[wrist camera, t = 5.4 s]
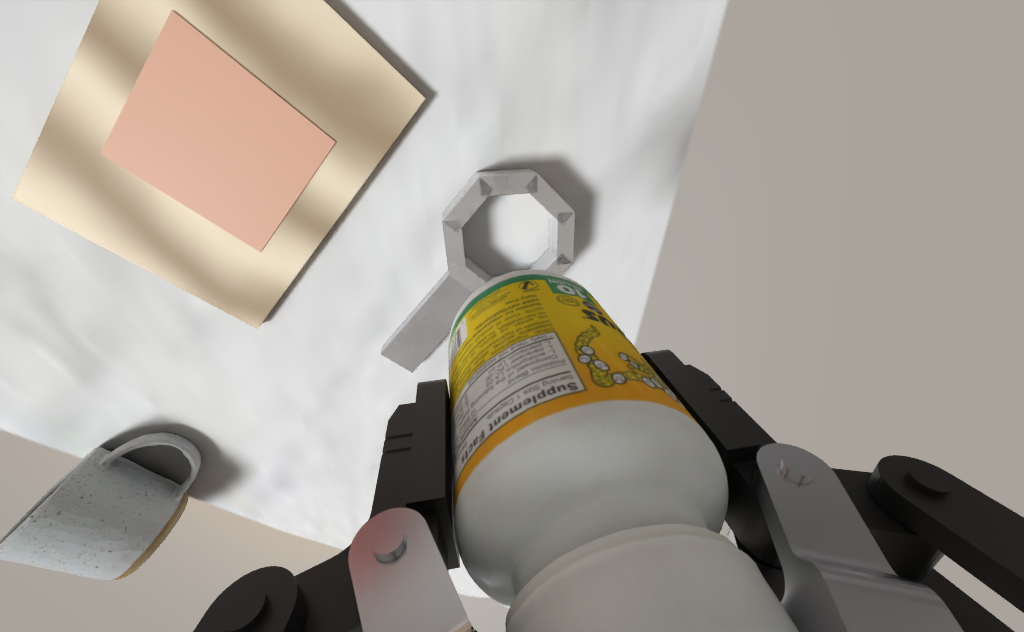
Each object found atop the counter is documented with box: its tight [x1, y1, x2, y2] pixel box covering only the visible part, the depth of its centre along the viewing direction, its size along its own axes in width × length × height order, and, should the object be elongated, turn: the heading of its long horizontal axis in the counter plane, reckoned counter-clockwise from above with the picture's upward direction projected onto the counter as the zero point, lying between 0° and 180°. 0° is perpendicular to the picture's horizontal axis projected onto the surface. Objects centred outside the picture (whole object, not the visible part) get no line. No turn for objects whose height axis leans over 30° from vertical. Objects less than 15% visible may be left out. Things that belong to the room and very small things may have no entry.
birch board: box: [12, 0, 426, 329], centre depth 22 cm, size 20×14×1 cm
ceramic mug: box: [0, 433, 201, 580], centre depth 29 cm, size 11×8×8 cm
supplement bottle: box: [449, 270, 799, 632], centre depth 9 cm, size 5×5×10 cm
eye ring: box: [381, 169, 575, 373], centre depth 28 cm, size 18×9×2 cm, turn 137°
